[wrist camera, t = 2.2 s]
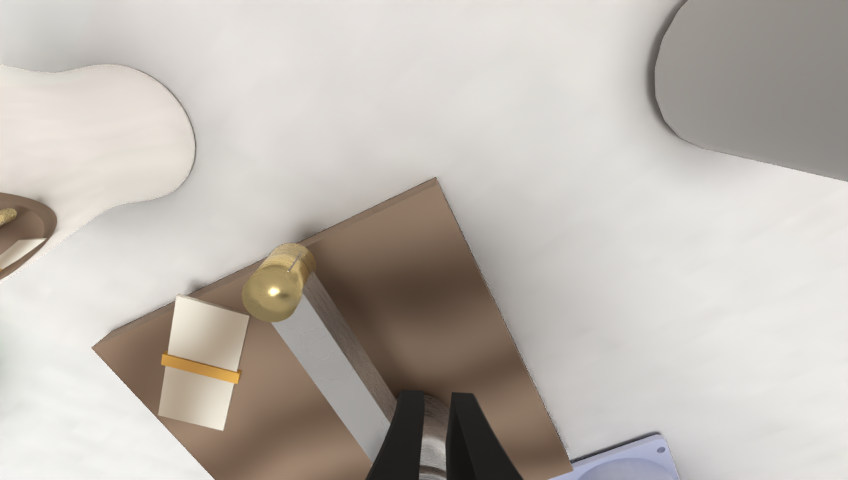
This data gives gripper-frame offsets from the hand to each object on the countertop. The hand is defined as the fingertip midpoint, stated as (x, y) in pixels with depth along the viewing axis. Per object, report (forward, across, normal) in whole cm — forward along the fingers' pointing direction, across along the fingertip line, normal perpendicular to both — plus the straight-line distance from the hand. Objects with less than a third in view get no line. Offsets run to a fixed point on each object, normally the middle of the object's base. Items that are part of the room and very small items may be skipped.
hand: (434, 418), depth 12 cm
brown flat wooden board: (+10, +4, +9) cm, 14 cm away
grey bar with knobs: (+9, +3, +4) cm, 10 cm away
